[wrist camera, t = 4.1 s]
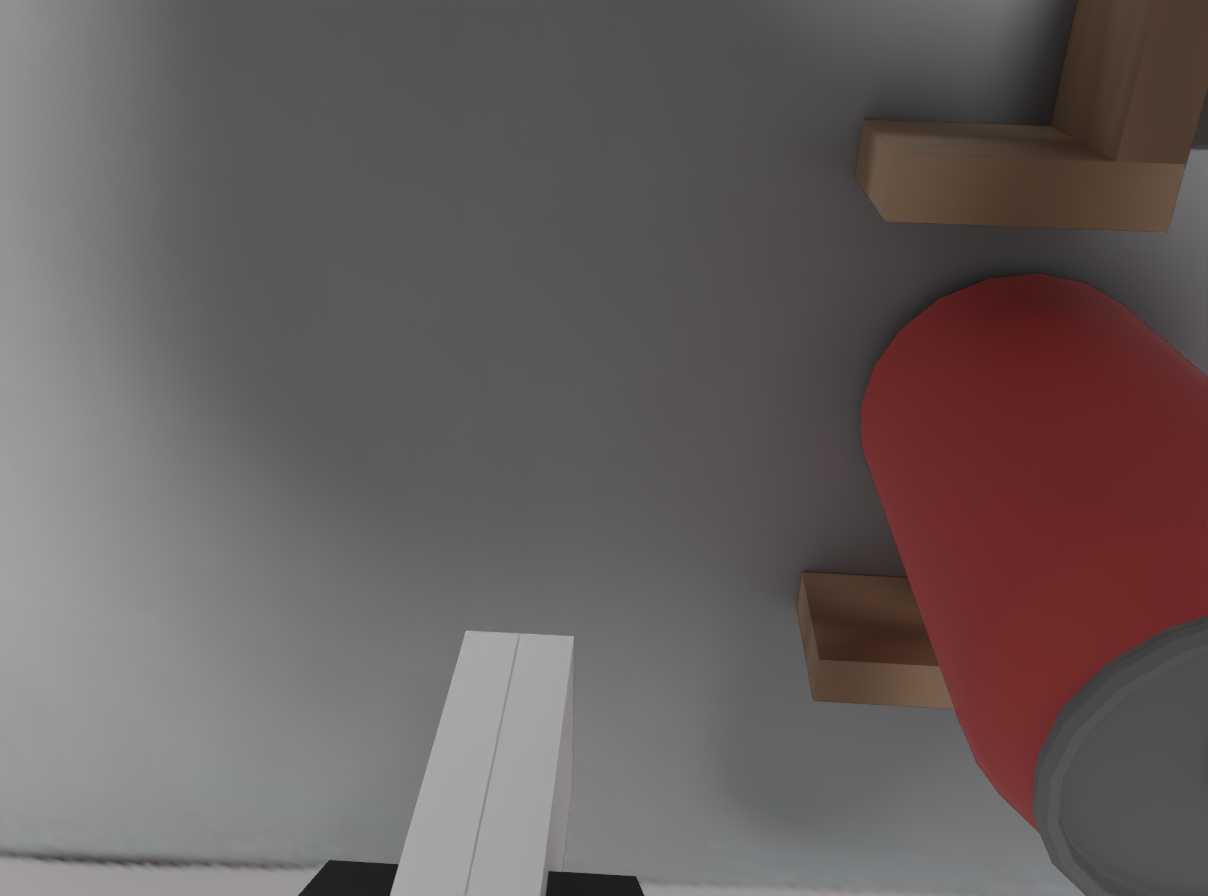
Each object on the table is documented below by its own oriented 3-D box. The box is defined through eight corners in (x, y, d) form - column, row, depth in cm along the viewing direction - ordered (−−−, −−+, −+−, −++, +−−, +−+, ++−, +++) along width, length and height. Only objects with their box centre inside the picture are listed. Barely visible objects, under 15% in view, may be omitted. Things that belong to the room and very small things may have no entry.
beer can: (1211, 381, 23) (1663, 771, 13) (992, 568, 26) (1214, 1022, 15) (1006, 203, 22) (1325, 476, 11) (796, 421, 24) (892, 811, 14)
